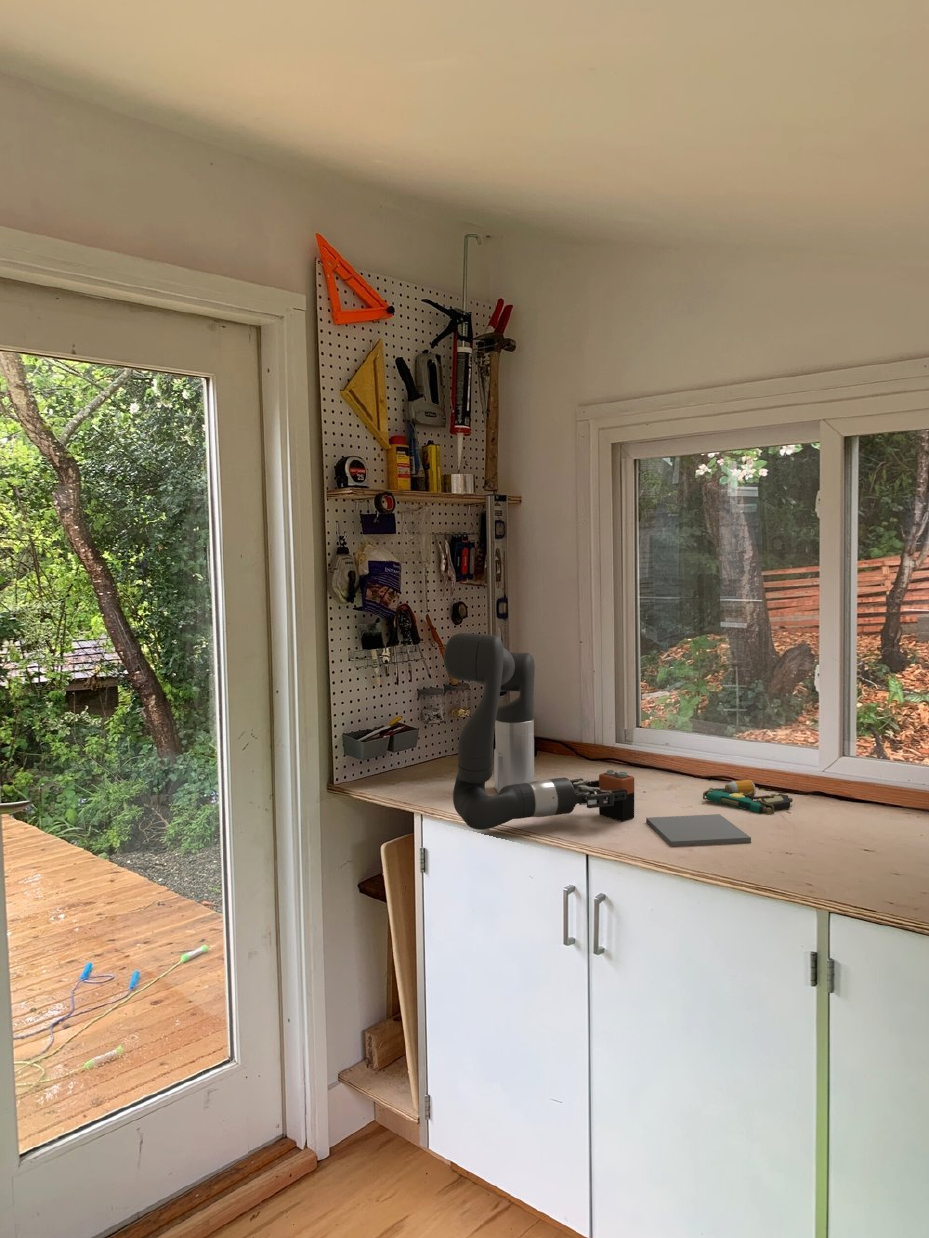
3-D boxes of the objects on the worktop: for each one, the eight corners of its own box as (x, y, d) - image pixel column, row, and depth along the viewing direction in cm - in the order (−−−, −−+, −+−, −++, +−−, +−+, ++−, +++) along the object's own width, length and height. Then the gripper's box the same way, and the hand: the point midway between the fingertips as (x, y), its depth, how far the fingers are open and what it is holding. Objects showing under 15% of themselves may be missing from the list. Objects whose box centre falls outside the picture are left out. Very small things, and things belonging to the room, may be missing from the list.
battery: (621, 822, 193) (621, 775, 193) (598, 815, 199) (597, 769, 198) (635, 818, 196) (635, 772, 195) (611, 811, 201) (611, 766, 201)
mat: (671, 846, 177) (671, 841, 177) (646, 822, 193) (646, 817, 193) (751, 842, 179) (751, 837, 179) (719, 818, 195) (719, 814, 195)
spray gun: (801, 812, 202) (752, 825, 195) (743, 791, 217) (696, 802, 209) (801, 793, 202) (753, 806, 194) (744, 773, 216) (696, 784, 209)
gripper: (563, 787, 184) (633, 779, 190) (533, 772, 197) (599, 764, 203) (564, 824, 185) (633, 814, 190) (533, 806, 198) (599, 798, 204)
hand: (616, 789), depth 197 cm, fingers open, 8 cm apart
